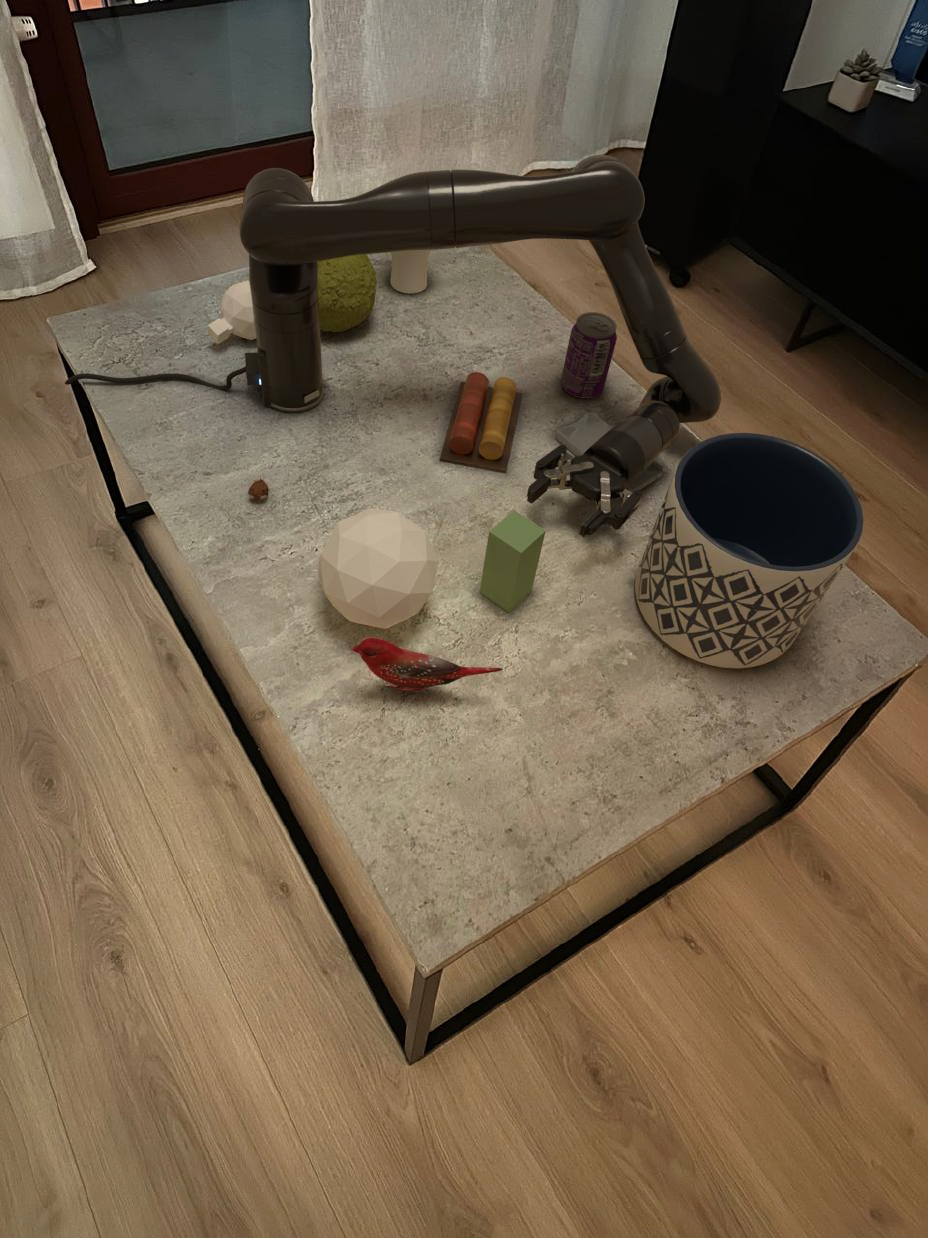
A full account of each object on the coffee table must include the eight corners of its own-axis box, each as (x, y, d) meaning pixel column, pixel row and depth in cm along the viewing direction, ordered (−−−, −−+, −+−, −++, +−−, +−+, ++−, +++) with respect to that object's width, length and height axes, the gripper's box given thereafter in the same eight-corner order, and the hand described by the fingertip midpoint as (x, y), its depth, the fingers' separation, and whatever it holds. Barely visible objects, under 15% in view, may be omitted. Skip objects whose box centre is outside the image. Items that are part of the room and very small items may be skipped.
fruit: (262, 319, 149) (268, 220, 143) (332, 321, 159) (340, 229, 153) (320, 338, 139) (328, 233, 133) (391, 340, 149) (402, 242, 143)
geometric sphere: (378, 602, 123) (412, 499, 118) (436, 653, 112) (476, 542, 108) (284, 592, 113) (318, 481, 109) (338, 647, 103) (378, 525, 98)
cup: (372, 294, 156) (373, 220, 145) (386, 261, 162) (387, 188, 151) (432, 305, 155) (437, 231, 145) (443, 271, 162) (448, 199, 151)
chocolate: (254, 507, 124) (251, 487, 121) (246, 497, 125) (243, 477, 122) (273, 499, 125) (271, 479, 122) (266, 489, 126) (263, 469, 123)
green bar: (508, 613, 117) (521, 553, 107) (479, 592, 119) (488, 531, 109) (531, 591, 120) (546, 530, 110) (502, 571, 121) (514, 509, 112)
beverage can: (609, 382, 147) (625, 319, 137) (594, 407, 143) (610, 344, 133) (569, 368, 148) (582, 304, 139) (553, 392, 144) (566, 328, 135)
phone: (590, 416, 142) (591, 410, 140) (664, 475, 135) (666, 469, 134) (552, 436, 138) (554, 430, 137) (627, 498, 131) (629, 492, 130)
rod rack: (506, 473, 132) (509, 451, 129) (439, 460, 133) (441, 439, 129) (522, 395, 143) (525, 374, 140) (460, 384, 143) (462, 362, 140)
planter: (763, 702, 112) (830, 603, 96) (604, 617, 118) (642, 511, 102) (820, 588, 124) (888, 483, 108) (673, 516, 130) (717, 407, 114)
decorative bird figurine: (352, 676, 109) (351, 628, 101) (497, 686, 110) (507, 640, 102) (350, 696, 108) (348, 649, 99) (497, 707, 108) (507, 661, 100)
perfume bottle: (252, 295, 150) (195, 332, 145) (253, 258, 141) (192, 295, 137) (288, 331, 149) (232, 369, 144) (291, 296, 140) (231, 335, 136)
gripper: (587, 408, 125) (516, 466, 117) (673, 458, 120) (606, 523, 112) (577, 448, 131) (509, 506, 123) (659, 498, 126) (594, 562, 118)
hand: (555, 514), depth 117 cm, fingers open, 8 cm apart
